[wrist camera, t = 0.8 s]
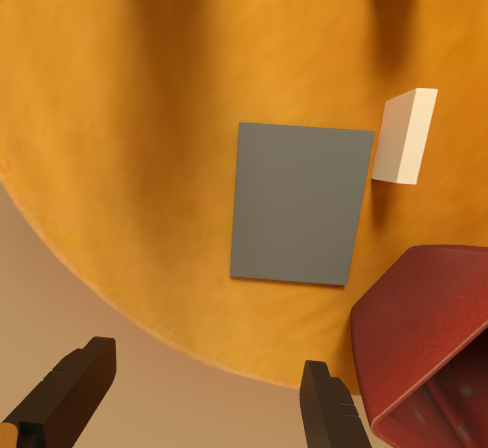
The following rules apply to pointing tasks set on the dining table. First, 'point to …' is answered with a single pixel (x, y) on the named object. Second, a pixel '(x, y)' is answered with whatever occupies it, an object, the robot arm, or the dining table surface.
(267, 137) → the mat
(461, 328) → the plant pot
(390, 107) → the card box
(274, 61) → the dining table surface
